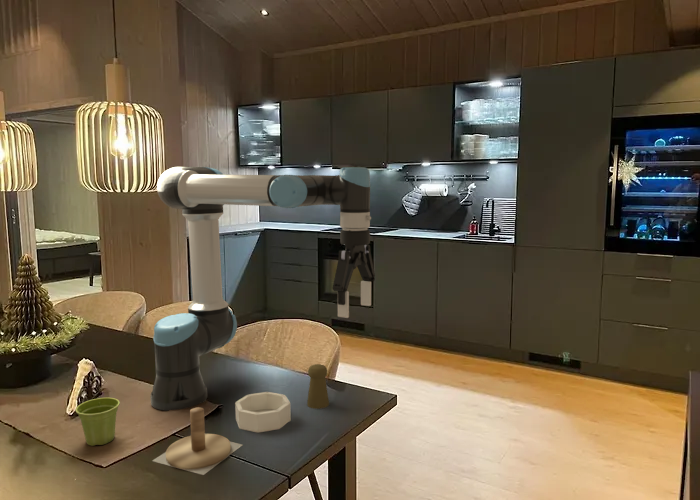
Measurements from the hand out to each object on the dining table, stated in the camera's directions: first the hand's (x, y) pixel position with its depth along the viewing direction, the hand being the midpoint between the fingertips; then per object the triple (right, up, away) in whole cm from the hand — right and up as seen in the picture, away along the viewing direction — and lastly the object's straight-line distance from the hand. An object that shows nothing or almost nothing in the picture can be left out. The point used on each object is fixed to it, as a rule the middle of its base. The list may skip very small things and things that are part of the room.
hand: (355, 311), depth 139 cm
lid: (-35, -30, -18) cm, 50 cm away
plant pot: (-61, -30, -11) cm, 68 cm away
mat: (-35, -30, -18) cm, 50 cm away
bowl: (-24, -28, -1) cm, 37 cm away
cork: (-10, -27, +9) cm, 30 cm away
